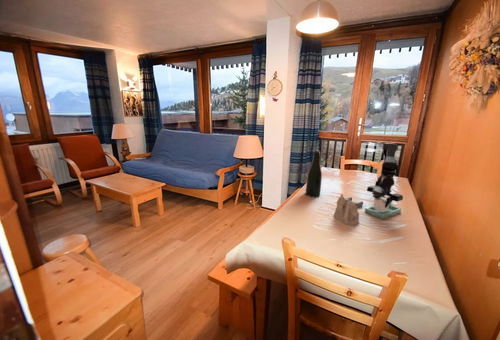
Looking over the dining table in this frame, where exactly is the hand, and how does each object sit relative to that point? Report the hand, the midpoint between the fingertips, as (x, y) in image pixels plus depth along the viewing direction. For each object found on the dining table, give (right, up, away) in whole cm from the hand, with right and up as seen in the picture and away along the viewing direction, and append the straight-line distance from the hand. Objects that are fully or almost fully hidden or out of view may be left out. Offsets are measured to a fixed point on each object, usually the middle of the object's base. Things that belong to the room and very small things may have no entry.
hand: (381, 205), depth 135 cm
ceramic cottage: (-23, -7, -6) cm, 25 cm away
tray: (+2, -4, +2) cm, 5 cm away
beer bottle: (-34, +4, +28) cm, 44 cm away
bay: (-12, -1, +13) cm, 17 cm away
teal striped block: (+2, -1, +1) cm, 3 cm away
